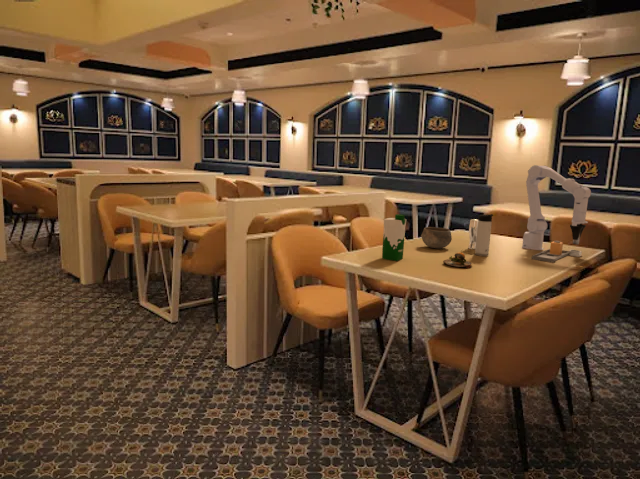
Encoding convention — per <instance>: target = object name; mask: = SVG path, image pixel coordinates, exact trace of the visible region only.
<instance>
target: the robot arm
mask: <svg viewBox="0 0 640 479" xmlns="http://www.w3.org/2000/svg"><path fill="white" fill-rule="evenodd" d="M546 178H550V179H552V180H554V181H555V182H557V183H559V184H560V185H561V187H562V190H563V189H564V190H565V191H567V192H568V193H569V194H571V195H573V198H574V204H573V210H572V211H573V212H572V219H571V224H569V228H570V229H571V237H572V240H573V239H574V240H578V238H579V235H580V238H579V240H580V239H581V236H582V233H583V231H584V230H585V228H586V226H587V225H586V224H588V223H589V221H586V217H587V212H588V211H587V209H588V203H589V198H590V197H591V195H592V191H591V190H592V189H590V188H589V187H588V186H584V185H583V184H581V183H578V182H577V181H576V180H575V179H574V178H566V177H564V176H562V175H561V174H560V173H558V172H557V171H556V170H554V169H553V168H551V167H549V166H547V165H537V164H533V165H532V166H531V167H530V168H529V169H528V170H527V177H526V181H525V185H526V191H527V200H528V206H529V217H528V218H527V223H526V224H527V225H526V227H527V231H525V232H524V233H523V237H522V244H521V245H522V246H521V249H528V250H535V251H542V250H543V251H544V250H545V247H544V248H543V244H544V235H545V234H544V233H545V231H546V230H547V229H548V223H547V221H546V218H545V216H544V215H543V214H542V207H541V200H540V192H539V183H541V181H543V180H544V179H546Z"/></svg>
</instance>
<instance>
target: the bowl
mask: <svg viewBox="0 0 640 479" xmlns="http://www.w3.org/2000/svg"><path fill="white" fill-rule="evenodd" d="M420 237H421V240H422V242H423V243H424V245H425V246H426V247H428V248H431V249H439V250H440V249H444V248H446V247H447V246H448V245H450V243H451V242H452V241H453V239H452V238H453V236H452V232H451V230H450V229H449V228H446V227H437V226H436V227H435V226H426V227H424V228H423V230H422V232H421V234H420Z"/></svg>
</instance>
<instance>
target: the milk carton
mask: <svg viewBox="0 0 640 479" xmlns="http://www.w3.org/2000/svg"><path fill="white" fill-rule="evenodd" d="M406 224H407V219H406V218H405V214H395V215H394V217H388V218H384V219H383V234H382V236H383V237H382V250H381V251H382V252H381V254H382V256H381V259H382V260H387V261H388V260H389V261H395V262H398V261H400V260H403V258H404V249H405V248H404V245H405V237H406V236H405V233H406Z"/></svg>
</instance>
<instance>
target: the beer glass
mask: <svg viewBox="0 0 640 479" xmlns="http://www.w3.org/2000/svg"><path fill="white" fill-rule="evenodd" d="M478 219H479V218H478ZM478 219H477V218H476V219H475V218H473V219H472V218H471V219H470V221H469V227H468V234H469V242H468V243H469V244H468V247H467V248H468V249H469V250H474V251H475V247H476V237H477V226H478Z"/></svg>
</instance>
